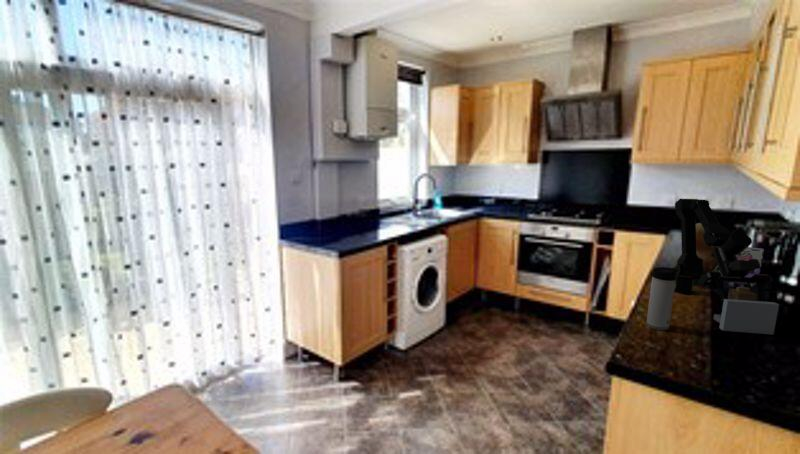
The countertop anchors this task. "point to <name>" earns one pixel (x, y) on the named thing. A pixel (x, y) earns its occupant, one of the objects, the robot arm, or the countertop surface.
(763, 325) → the grey stool
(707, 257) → the butternut squash
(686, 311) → the countertop surface
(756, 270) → the candy box
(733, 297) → the brown box with handle
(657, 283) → the travel mug
